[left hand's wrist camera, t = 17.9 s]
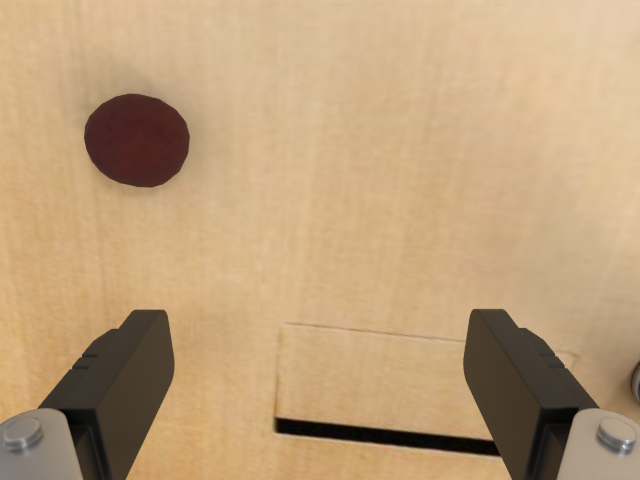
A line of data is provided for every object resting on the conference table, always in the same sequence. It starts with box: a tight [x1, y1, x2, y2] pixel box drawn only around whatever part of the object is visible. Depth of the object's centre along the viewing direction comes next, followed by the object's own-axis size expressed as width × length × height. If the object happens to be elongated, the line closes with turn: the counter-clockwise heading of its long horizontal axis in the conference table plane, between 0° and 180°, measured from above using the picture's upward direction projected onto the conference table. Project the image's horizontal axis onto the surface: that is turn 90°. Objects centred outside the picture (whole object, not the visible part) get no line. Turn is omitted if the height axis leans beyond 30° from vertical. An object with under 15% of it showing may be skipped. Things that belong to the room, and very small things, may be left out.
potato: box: [84, 94, 190, 187], centre depth 34 cm, size 7×8×7 cm
